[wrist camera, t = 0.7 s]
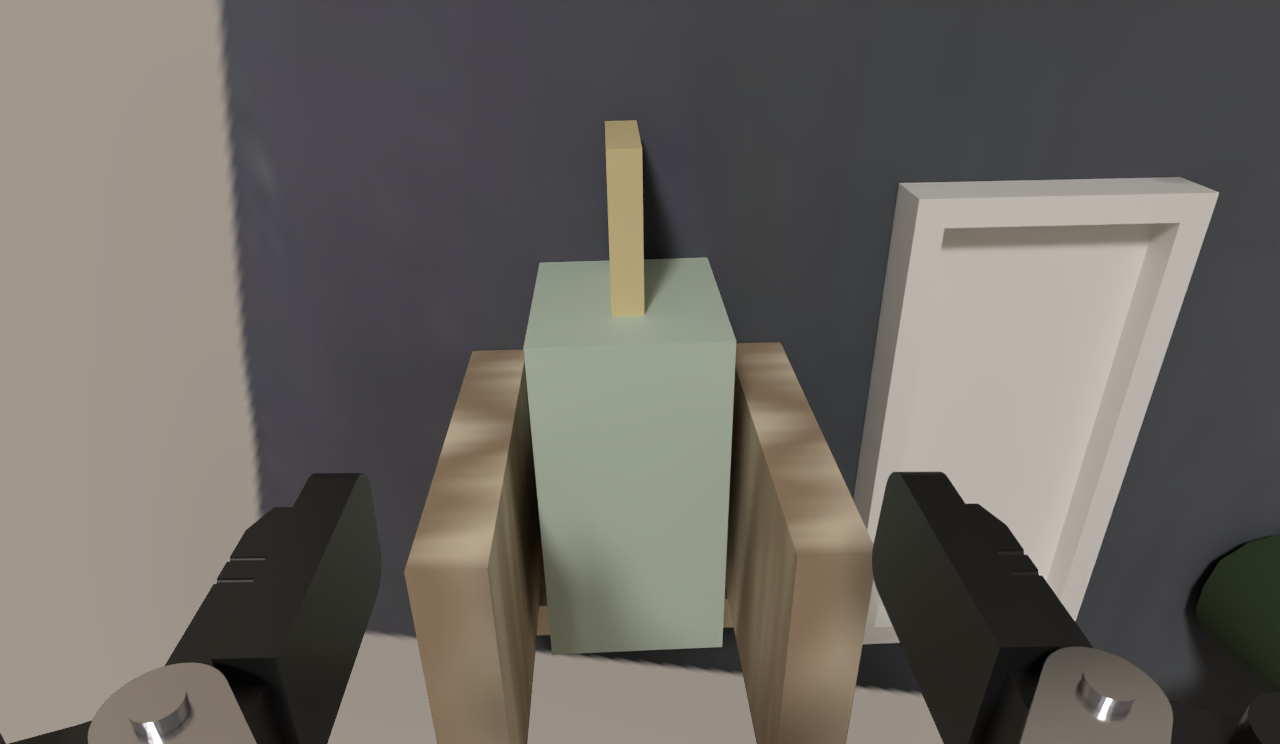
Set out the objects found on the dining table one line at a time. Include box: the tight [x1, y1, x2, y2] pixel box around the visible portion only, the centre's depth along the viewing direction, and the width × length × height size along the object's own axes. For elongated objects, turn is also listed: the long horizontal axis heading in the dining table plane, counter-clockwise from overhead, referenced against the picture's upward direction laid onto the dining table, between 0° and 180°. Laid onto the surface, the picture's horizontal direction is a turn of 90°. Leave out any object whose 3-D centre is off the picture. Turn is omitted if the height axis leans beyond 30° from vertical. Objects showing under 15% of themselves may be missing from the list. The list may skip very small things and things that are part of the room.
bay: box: [404, 342, 874, 744], centre depth 28 cm, size 12×12×12 cm
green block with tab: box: [523, 120, 736, 655], centre depth 27 cm, size 6×17×7 cm, turn 1°
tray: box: [853, 177, 1219, 644], centre depth 32 cm, size 10×20×2 cm, turn 1°
